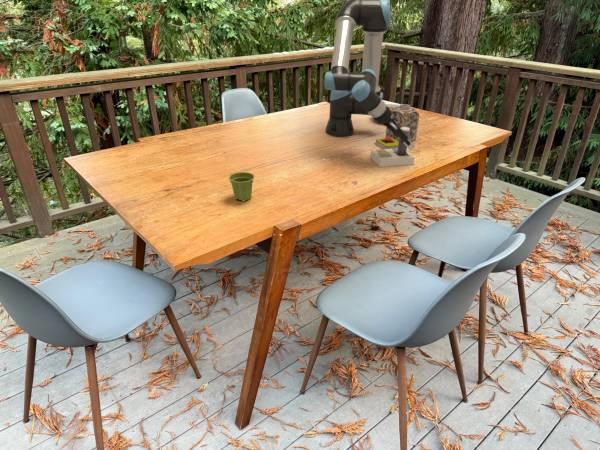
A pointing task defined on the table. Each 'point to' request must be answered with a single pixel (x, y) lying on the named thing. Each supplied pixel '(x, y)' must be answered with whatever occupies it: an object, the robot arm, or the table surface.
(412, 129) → the decorative jar
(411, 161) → the socket block
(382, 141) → the emergency button
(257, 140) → the table surface
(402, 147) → the capped grey bottle
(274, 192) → the table surface
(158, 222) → the table surface
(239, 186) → the plant pot
